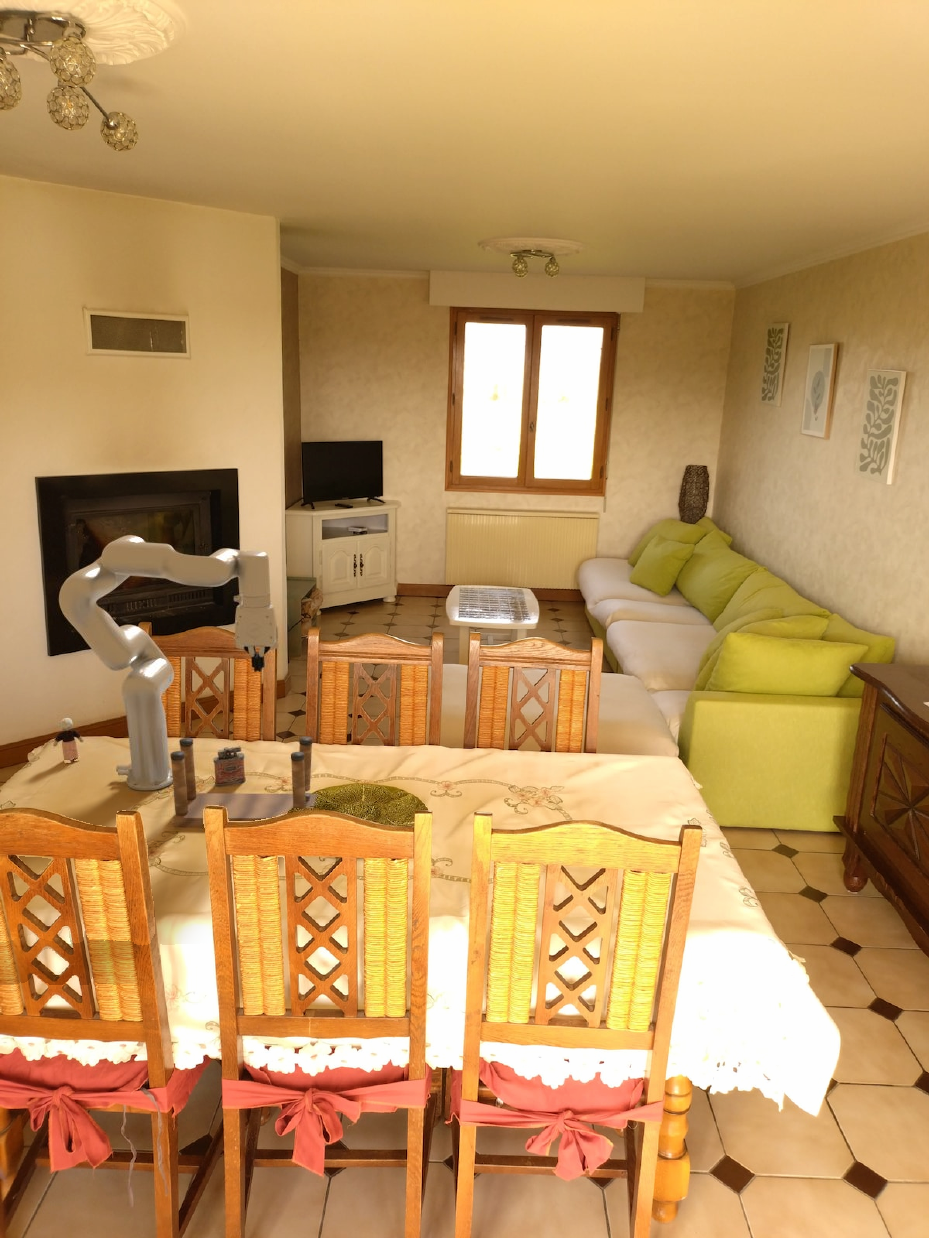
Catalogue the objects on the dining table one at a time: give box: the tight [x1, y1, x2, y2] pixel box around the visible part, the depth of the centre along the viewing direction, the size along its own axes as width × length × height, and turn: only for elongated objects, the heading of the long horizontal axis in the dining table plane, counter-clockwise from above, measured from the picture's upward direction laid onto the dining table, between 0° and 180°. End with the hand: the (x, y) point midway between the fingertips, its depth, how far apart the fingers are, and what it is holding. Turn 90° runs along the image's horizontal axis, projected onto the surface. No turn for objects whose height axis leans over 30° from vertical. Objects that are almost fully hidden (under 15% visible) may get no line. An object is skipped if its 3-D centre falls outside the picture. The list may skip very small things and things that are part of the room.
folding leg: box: [298, 736, 313, 793], centre depth 235 cm, size 14×3×3 cm
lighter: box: [213, 745, 246, 788], centre depth 249 cm, size 8×3×10 cm, turn 117°
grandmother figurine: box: [52, 717, 84, 761], centre depth 260 cm, size 8×4×13 cm, turn 133°
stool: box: [169, 737, 318, 828], centre depth 231 cm, size 33×13×18 cm, turn 91°
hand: (258, 669), depth 241 cm, fingers closed
